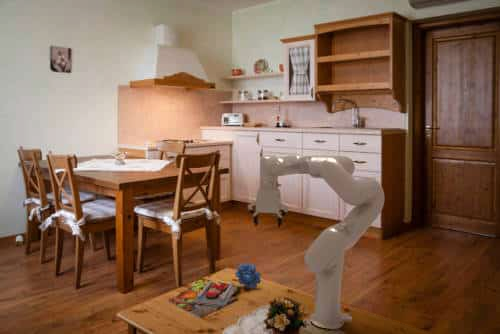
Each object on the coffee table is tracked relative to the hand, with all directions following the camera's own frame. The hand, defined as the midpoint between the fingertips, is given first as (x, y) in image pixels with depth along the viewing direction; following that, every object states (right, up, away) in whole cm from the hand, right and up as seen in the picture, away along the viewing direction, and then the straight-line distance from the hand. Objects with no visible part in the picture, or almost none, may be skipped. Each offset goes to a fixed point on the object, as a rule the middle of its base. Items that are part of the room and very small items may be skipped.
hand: (267, 225), depth 182 cm
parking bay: (-22, -31, +8) cm, 39 cm away
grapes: (-8, -31, +15) cm, 35 cm away
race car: (-22, -31, +7) cm, 38 cm away
